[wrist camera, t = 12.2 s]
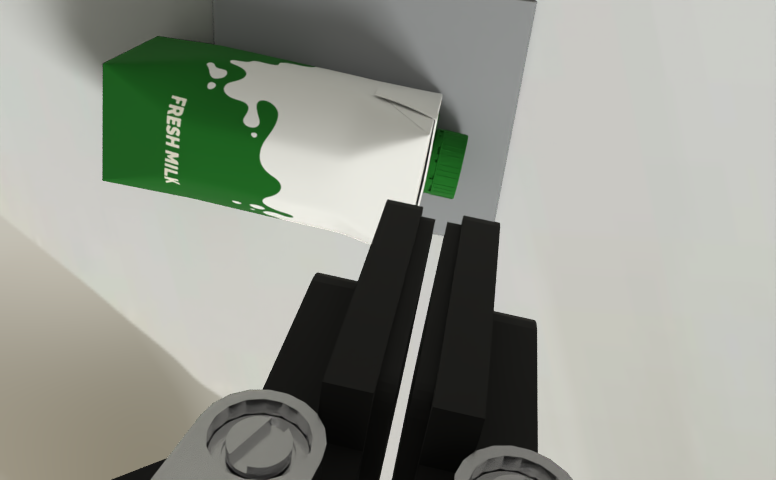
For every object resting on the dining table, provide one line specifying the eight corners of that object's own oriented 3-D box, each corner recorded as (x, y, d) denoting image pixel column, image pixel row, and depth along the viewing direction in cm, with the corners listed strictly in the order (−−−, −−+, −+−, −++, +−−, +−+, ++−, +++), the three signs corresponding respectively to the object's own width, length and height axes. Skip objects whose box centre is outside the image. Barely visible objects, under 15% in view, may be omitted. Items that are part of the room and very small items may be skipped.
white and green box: (158, 147, 50) (447, 214, 49) (92, 202, 42) (435, 283, 41) (163, 17, 46) (479, 88, 45) (91, 49, 38) (473, 136, 37)
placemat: (213, -42, 44) (211, -41, 43) (536, 1, 42) (536, 2, 42) (220, 196, 52) (219, 199, 52) (490, 241, 50) (490, 243, 50)
